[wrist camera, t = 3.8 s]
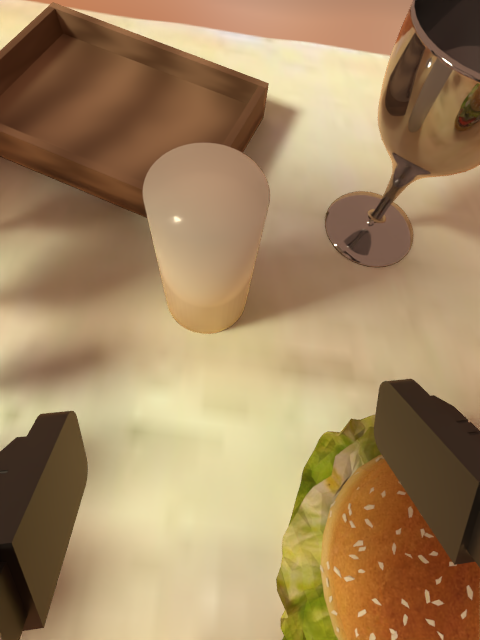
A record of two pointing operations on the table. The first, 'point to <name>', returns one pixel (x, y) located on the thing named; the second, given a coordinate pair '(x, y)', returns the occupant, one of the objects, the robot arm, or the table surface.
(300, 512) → the food
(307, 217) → the table surface
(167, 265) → the dome-topped cylinder
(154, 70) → the serving tray
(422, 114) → the wine glass
